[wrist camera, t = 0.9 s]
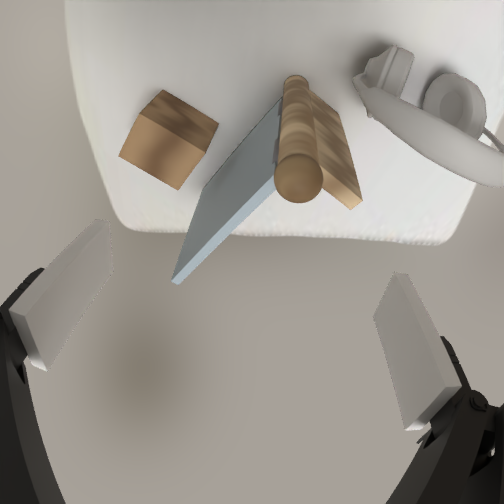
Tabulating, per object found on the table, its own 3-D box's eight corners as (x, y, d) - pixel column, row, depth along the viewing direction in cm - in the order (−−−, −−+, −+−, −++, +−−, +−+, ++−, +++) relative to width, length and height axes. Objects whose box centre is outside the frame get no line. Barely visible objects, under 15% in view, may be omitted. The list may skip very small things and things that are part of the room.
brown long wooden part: (276, 87, 35) (261, 195, 21) (294, 68, 33) (295, 161, 18) (326, 126, 38) (346, 253, 24) (344, 109, 36) (381, 229, 21)
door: (202, 189, 48) (170, 280, 36) (283, 94, 35) (276, 170, 24) (223, 201, 49) (198, 295, 38) (307, 113, 37) (314, 196, 25)
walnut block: (142, 127, 41) (118, 156, 36) (163, 89, 37) (139, 113, 31) (193, 157, 45) (178, 190, 39) (219, 123, 40) (205, 152, 35)
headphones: (328, 92, 35) (354, 183, 22) (347, 26, 28) (400, 66, 15) (451, 135, 36) (518, 237, 22) (476, 81, 29) (567, 165, 15)
